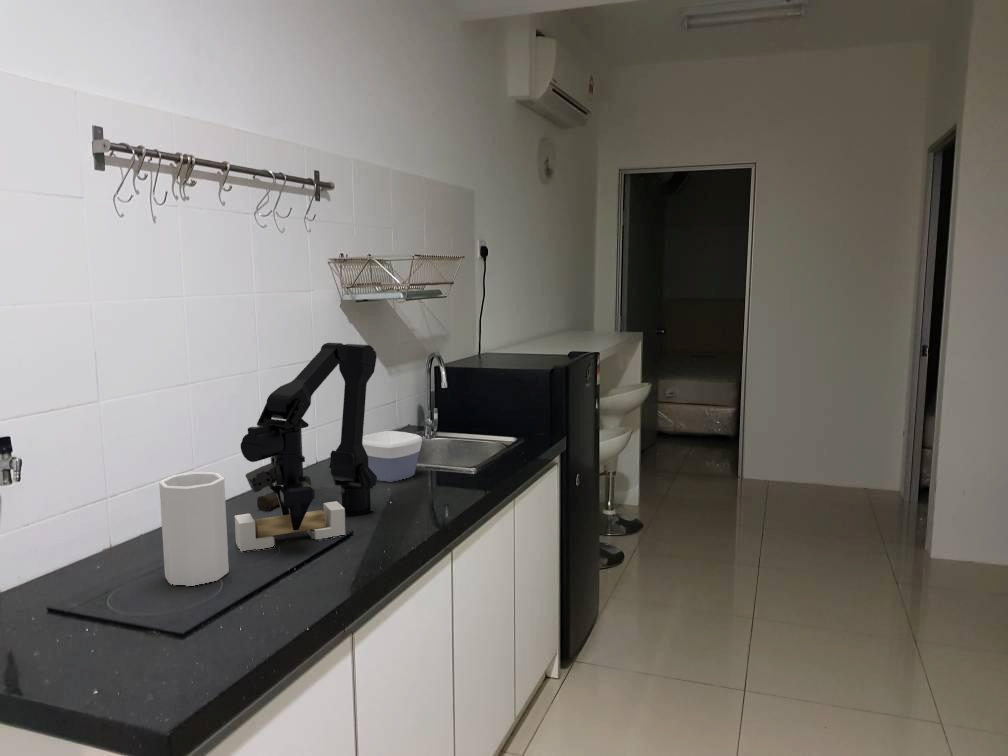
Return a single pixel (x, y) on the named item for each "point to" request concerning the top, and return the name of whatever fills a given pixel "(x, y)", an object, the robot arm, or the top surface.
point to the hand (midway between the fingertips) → (290, 523)
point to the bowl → (392, 454)
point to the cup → (194, 528)
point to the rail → (288, 524)
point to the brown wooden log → (273, 499)
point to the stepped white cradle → (249, 541)
